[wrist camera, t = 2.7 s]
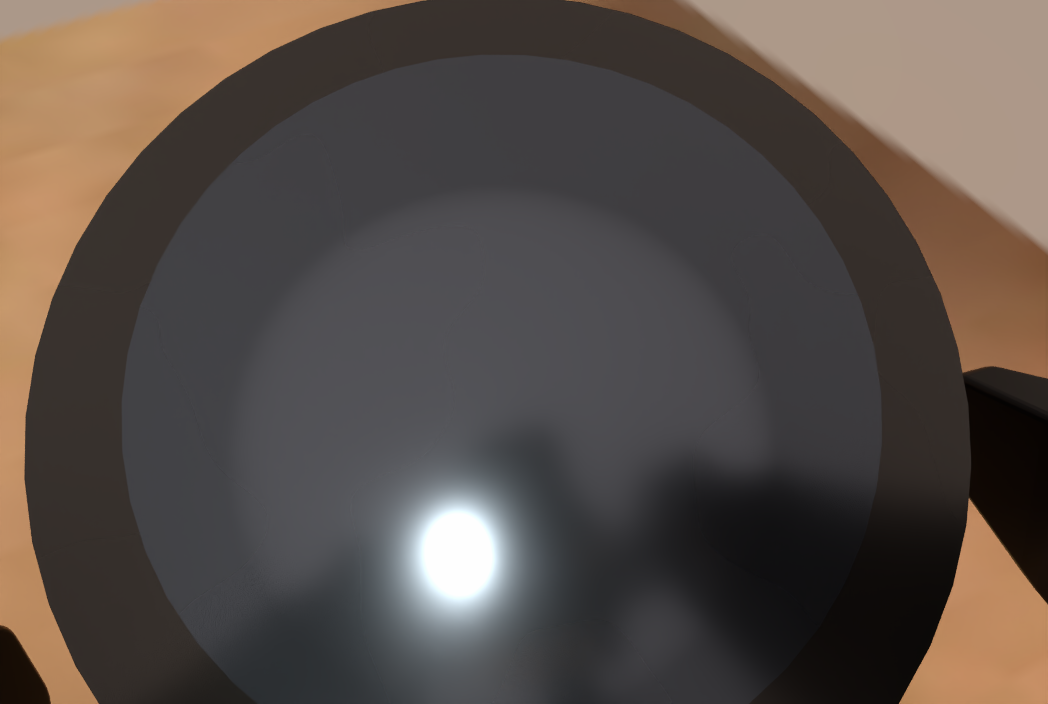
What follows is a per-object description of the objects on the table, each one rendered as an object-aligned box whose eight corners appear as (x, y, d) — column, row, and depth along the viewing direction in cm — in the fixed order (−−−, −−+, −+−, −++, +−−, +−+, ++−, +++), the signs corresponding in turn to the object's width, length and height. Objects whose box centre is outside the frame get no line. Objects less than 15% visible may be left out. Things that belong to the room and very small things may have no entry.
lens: (629, 752, 15) (1009, 1072, 4) (298, 690, 15) (-200, 839, 4) (670, 427, 17) (1012, 42, 6) (374, 373, 17) (166, -103, 6)
